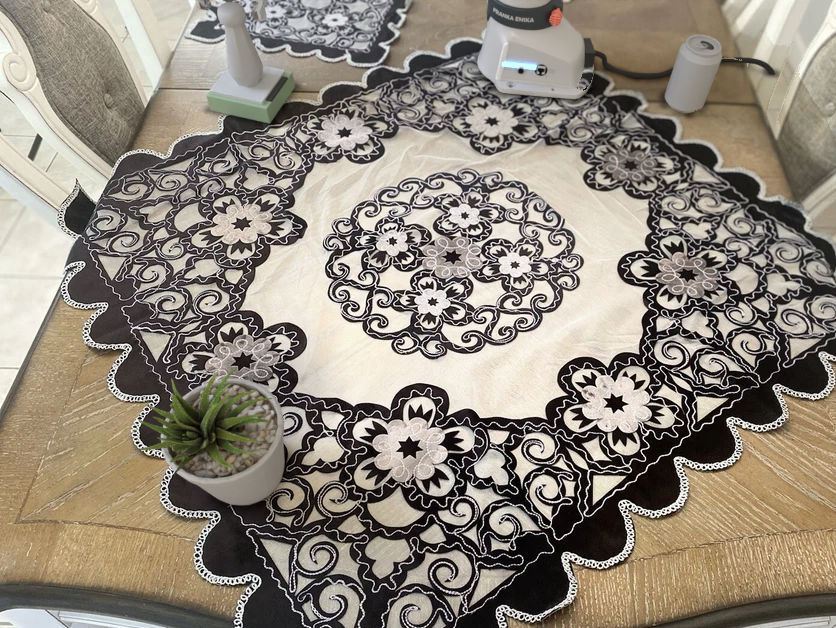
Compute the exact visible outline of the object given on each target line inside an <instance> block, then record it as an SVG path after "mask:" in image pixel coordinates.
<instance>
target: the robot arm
mask: <svg viewBox="0 0 836 628" xmlns="http://www.w3.org/2000/svg"><path fill="white" fill-rule="evenodd" d="M254 1H255V2H257V3H255V4H254V6H253V7H252V8H251V9H250V12H251V15H252V19H253V20H255V21H259V22H264V21H265V20H266V18H267V11H266V5H267V2H268V0H254ZM195 4H196V7H197V9H198V10H201V11H209V10H210V9H211V7H212V1H211V0H195ZM564 4H565V3H564V0H486V9H485V10H486V12H485V14H486V22H487V23H486V29H485V33H484V37H483V38H484V39H483V43H482V45H481V48H480V51H479V53H478V55H477V60H476V65H477V67H478V70H479V71H480V73H481V74H482V75H483V76H484V77H486V78H487V79H488V80H489V81H490V82H492V83H493V84H494V86H495V88H496V90H497V91H499V93H502V94H508V95H509V94H510V95H521V96H533V97H534V96H535V97H544V98H554V99H566V100H567V99H568V100H578V99H580V98H581V97H583V96H585V94H586V93H587V92H588V91H589V89H590V88H591V86H592V82H593V79H594V76H593V77H592V80H591V83H590V84H589V86H588V87H587V89H586V90H584V91H583V89H585V88H586V86H585V85H582V84H579V81H580V79H581V77H582V74H583V71H584V69H592V70H594V71H595V65H594V63H595V59H596V57H597V58H599V59H601V65H602V66H603V68H605V69H606V70H607V71H609V72H611V73H615V74H618V75H621V76H623V77H628V78H632V79H643V80H644V79H647V80H648V79H650V80H651V79H652V80H653V79H662V78H665V77H668V76H671V74H672V71H673V68H674V66H673V67H670V68H669V69H667V70H664V71H660V72H631V71H626V70H623V69H619V68H617V67H615V66H613V65H611V63H609V62H608V57H607V55H606V54H605V53H603V52H602V51H600V50H596V49H595V47H594V44H593V41H592V40H591V37H584V36H583V34H582V32H581V31H579V30H578V29H577V28H576V27H575V26H574V25H573V24H572V23H571V22H570V21H569V20H567V18H566V17H565V16H564V15H563V12H564ZM724 57H725V56H722V58H724ZM733 57H734V58H736V59H738V60H734V59H722V60H721V62H720V63H736V64H752V65H756V66H759V67H761V68H763V69H764V70H766V71H767V73H768V74H769V75H771V76H775V75H776V72H775V70H774V68H773V67H772V66H771V65H770V64H769V63H767V62H766V61H764V60H762V59H758V58H753V57H738V56H733ZM739 59H740V60H741V59H742V61H739ZM593 75H594V73H593ZM577 84H579V85H577ZM575 86H577V87H578V89H577V88H576V87H575ZM580 89H581V90H580Z"/></svg>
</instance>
